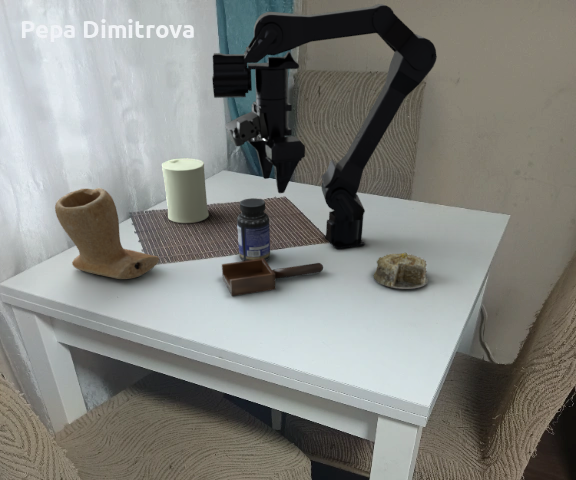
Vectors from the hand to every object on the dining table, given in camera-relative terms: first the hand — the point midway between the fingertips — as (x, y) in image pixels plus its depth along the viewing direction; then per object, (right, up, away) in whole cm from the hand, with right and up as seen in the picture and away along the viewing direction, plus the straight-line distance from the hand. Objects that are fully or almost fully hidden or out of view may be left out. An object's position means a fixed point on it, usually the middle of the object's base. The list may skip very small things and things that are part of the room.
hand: (273, 185), depth 111 cm
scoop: (+1, -19, -6) cm, 20 cm away
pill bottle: (-4, -14, +2) cm, 14 cm away
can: (-20, 0, +20) cm, 28 cm away
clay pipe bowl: (-31, -18, -3) cm, 35 cm away
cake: (+23, -19, -6) cm, 31 cm away
